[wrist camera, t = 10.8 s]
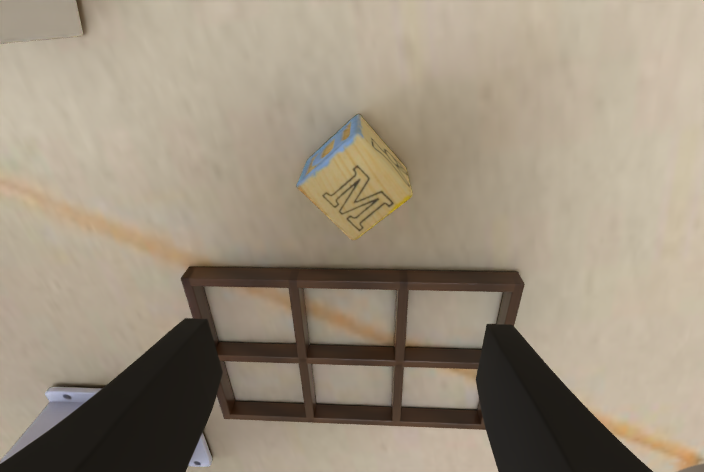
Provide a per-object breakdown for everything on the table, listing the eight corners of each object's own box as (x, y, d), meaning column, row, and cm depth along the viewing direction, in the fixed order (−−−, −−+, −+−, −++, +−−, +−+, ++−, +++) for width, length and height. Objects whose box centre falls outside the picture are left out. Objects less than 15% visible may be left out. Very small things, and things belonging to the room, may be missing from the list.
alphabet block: (360, 110, 15) (356, 131, 13) (409, 167, 16) (415, 197, 14) (306, 159, 16) (292, 188, 14) (355, 209, 17) (351, 244, 15)
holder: (229, 405, 25) (223, 419, 24) (188, 266, 20) (180, 278, 19) (483, 415, 24) (487, 430, 23) (518, 271, 19) (525, 284, 18)
